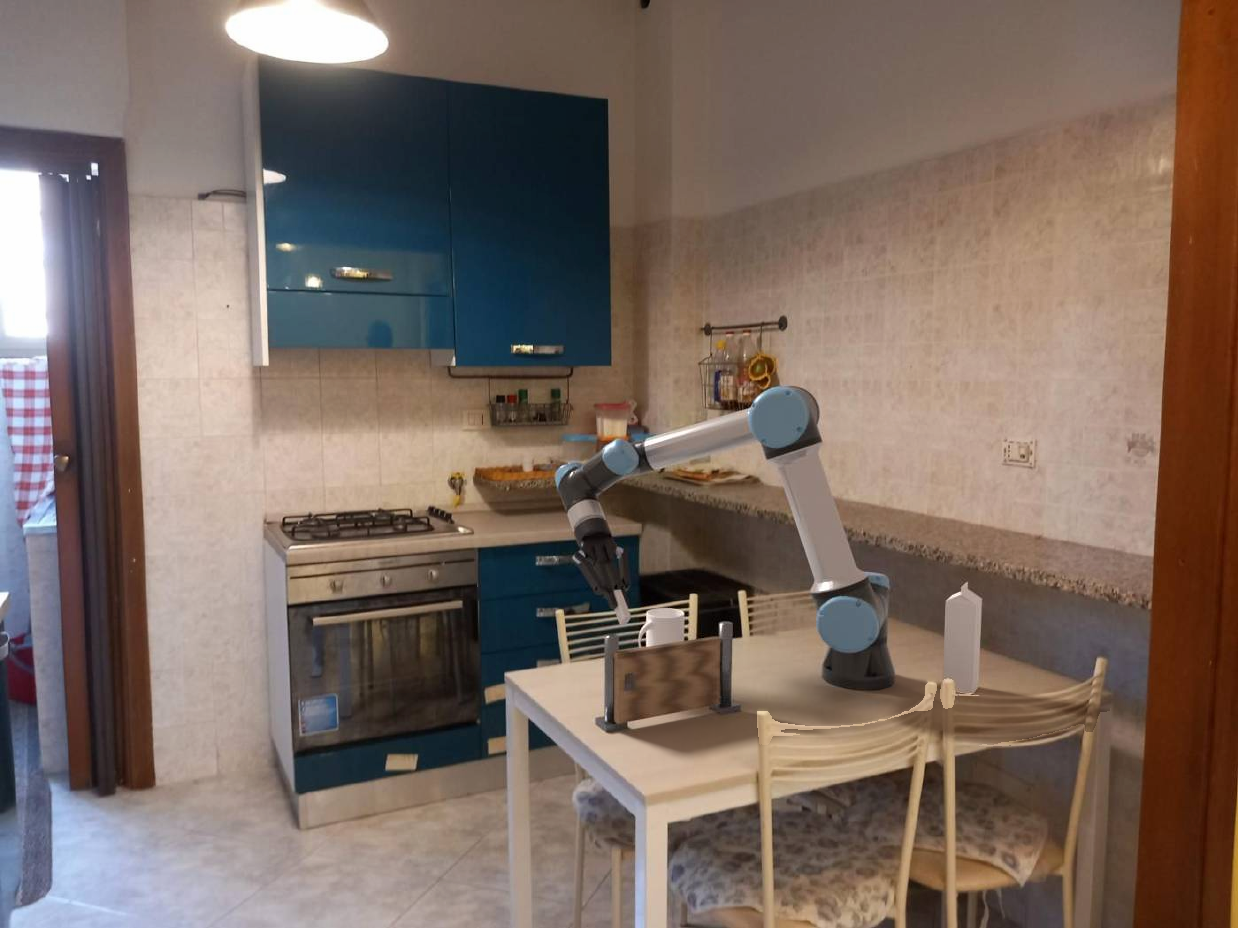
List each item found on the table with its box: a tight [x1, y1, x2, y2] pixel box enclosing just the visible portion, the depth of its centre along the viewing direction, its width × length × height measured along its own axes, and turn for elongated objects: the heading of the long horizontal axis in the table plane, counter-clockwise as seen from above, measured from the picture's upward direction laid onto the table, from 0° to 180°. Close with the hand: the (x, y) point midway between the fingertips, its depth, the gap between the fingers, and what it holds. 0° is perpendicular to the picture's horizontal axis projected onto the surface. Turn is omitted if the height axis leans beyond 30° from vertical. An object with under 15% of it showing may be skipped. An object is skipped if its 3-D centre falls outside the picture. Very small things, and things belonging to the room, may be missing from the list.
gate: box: [613, 635, 721, 724], centre depth 174 cm, size 22×2×13 cm, turn 118°
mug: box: [638, 607, 685, 648], centre depth 211 cm, size 9×12×11 cm
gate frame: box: [594, 621, 742, 733], centre depth 176 cm, size 28×7×17 cm, turn 118°
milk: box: [942, 581, 983, 694], centre depth 192 cm, size 6×6×22 cm
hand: (625, 620), depth 187 cm, fingers closed
